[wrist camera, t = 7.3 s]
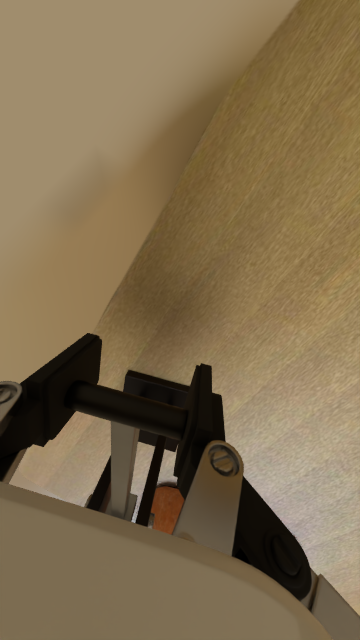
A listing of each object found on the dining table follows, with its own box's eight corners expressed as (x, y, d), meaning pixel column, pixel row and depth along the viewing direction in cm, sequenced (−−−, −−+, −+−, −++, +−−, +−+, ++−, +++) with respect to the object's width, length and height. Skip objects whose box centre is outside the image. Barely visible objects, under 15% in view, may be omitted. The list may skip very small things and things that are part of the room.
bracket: (128, 369, 27) (55, 483, 14) (194, 387, 26) (181, 521, 14) (119, 428, 31) (56, 559, 18) (176, 445, 30) (153, 590, 18)
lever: (87, 363, 9) (50, 410, 7) (191, 392, 9) (182, 448, 7) (99, 494, 19) (85, 529, 17) (149, 509, 19) (141, 546, 17)
